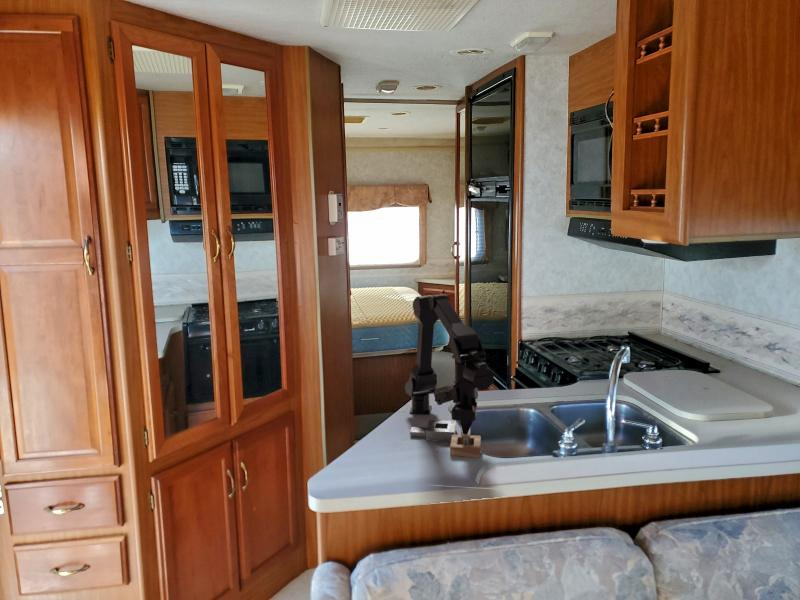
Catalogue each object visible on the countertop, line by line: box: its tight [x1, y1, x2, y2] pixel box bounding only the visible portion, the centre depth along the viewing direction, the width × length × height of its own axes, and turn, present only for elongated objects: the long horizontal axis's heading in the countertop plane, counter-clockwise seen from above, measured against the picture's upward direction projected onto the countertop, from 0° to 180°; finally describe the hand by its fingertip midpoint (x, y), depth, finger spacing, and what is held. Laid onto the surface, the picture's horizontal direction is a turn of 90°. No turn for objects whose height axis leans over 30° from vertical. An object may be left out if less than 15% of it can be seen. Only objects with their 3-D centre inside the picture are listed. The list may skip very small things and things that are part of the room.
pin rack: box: [449, 434, 482, 458], centre depth 168 cm, size 8×8×2 cm
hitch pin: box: [460, 426, 471, 445], centre depth 167 cm, size 3×3×9 cm
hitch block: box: [409, 419, 457, 443], centre depth 177 cm, size 8×13×3 cm, turn 81°
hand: (465, 431), depth 167 cm, fingers closed on hitch pin, 3 cm apart
